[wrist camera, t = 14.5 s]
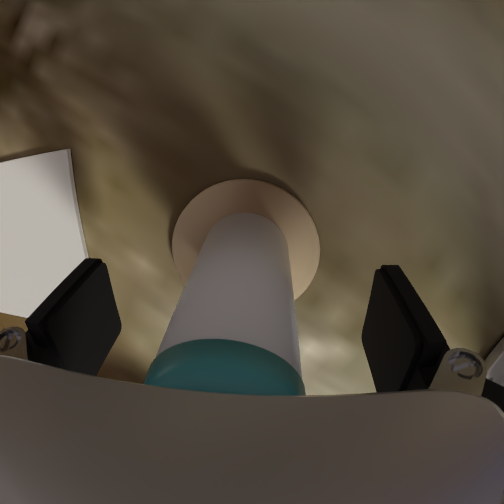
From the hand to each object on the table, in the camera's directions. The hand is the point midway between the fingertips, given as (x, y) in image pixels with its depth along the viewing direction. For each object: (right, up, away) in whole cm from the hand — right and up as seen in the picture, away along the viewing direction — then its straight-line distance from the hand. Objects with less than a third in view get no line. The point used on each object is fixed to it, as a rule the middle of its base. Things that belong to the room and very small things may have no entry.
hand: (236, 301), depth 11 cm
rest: (0, +2, +3) cm, 4 cm away
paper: (-14, +2, +4) cm, 15 cm away
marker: (0, +2, +3) cm, 4 cm away
